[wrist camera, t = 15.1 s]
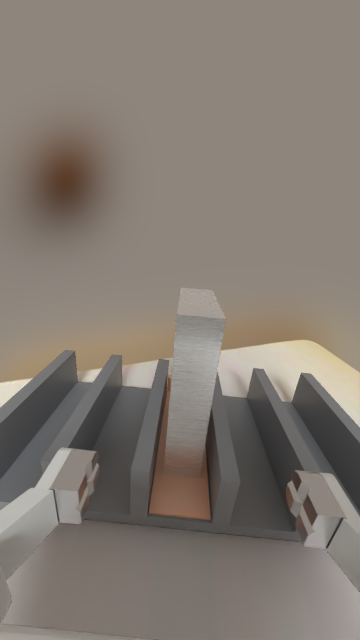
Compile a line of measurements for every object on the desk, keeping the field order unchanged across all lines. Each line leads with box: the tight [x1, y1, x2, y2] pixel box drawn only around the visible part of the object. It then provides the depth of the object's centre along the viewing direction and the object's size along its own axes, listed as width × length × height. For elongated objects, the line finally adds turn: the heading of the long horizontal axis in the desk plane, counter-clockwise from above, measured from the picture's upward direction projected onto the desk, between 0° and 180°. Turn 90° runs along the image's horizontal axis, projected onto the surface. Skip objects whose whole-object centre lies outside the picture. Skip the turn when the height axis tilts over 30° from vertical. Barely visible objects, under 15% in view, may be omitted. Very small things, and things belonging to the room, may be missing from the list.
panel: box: [163, 288, 226, 478], centre depth 20 cm, size 3×8×14 cm, turn 178°
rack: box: [0, 350, 360, 542], centre depth 22 cm, size 30×15×6 cm, turn 87°
